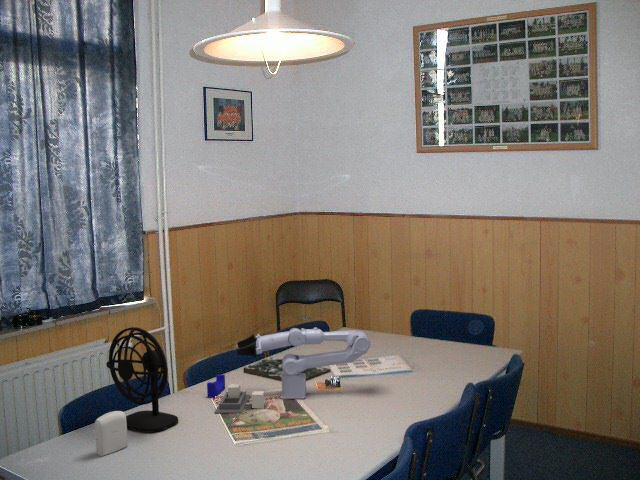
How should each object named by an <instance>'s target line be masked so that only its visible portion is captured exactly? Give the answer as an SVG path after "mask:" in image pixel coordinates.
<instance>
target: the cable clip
mask: <svg viewBox="0 0 640 480" xmlns="http://www.w3.org/2000/svg"><path fill="white" fill-rule="evenodd" d="M215 379H216V380H215V381H213V382H211V381H208V382H207V384H206V389H207V390H206V391H207V398H208V399H216V398H215V396H217V397H219V395H220V394H222V392H224V390H226V377H225V374H217V375H216V377H215Z"/></svg>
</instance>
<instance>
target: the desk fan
mask: <svg viewBox="0 0 640 480" xmlns="http://www.w3.org/2000/svg"><path fill="white" fill-rule="evenodd" d="M128 331H129V332H128ZM126 332H128V334H126V335H124V336H123V334H124V333H126ZM140 336H141V337H142V338H141V337H140ZM131 338H132V339H135V340H137V341H138V342H136V343H135V344H134V345H133V347H131V346H129V343H130V340H131ZM147 339H148V340H149V341H150V342H149V341H148V340H147ZM119 343H120V345H119V348H118V349H117V350H116V351H115V349H116V347H117V345H118V344H119ZM140 344H141V345H143V346H145V350H146V352H144V353H143V354H142V355H141V354H140V352H139V351H138V350H137V349H135V348H136V347H137V346H138V345H140ZM152 348H153V349H152ZM123 349H124V356H123V359H122V351H123ZM128 349H129V350H130V354H129V359H128ZM114 352H115V353H114ZM133 353H135V354H136V355H137V356H138V358H139V359H133ZM116 357H117V359H116ZM134 363H135V364H141V365H142V368H143V371H139V370H138V371H136V370H135V367H134V365H133V364H134ZM105 364H106V367H107V368H108V369H109V373H110V375H111V378H112V381H113V384H114V385H115V386H116V388H117V390H118V391H119V392H120V394H121V395H122V396H123V397H125V398H126V399H127V400H128V401H130V402H131V403H134V404H135V405H149V404H151V408H152V409H151V410H139V411H135V412H132V413H130V414H128V415H126V423H127V429H130V430H134V431H138V432H143V433H155V432H160V431H164V430H166V429H168V428H170V427H172V426H174V425H176V424H177V423H179V417H178V416H177V415H175V414H172V413H166V412H163V411H160V410H159V409H160V408H159V407H160V405H159V398H160V397H161V396H162V395H163V393H164V391H165V389H166V386H167V383H168V376H169V375H168V373H169V370H168V369H169V368H168V363H167V360H166V355H165V352H164V350H163V348H162V346H161V345H160V343H159V342H158V340H157V339H156V338H155V337H154V335H153V334H151V333H150V332H148V331H147V330H145V329H143V328H140V327H134V326H133V327H128V328H125V329H122V330H120V331H119V332H118V333H117V334H116V335H115V336H114V338H113V339H112V341H111V344H110V346H109V351H108V361H107V362H106V363H105ZM116 364H117V367H116V366H115V365H116ZM159 370H160V371H159ZM117 373H118V375H117ZM133 375H134V376H135V378H136V379H137V380H138V381H139V382H141V383H140V385H139V386H138V387H137V388H134V387H133V386H132V385H131V384H130V383H129V381H130V380H131V379H132V378H133ZM139 375H141V376H143V378H141V377H139ZM118 376H119V377H120V378H121V379H122V380H123V383H124V384H125V385H124V384H123V383H122V382H121V381H120V379H119V377H118ZM146 377H147V379H146ZM161 377H162V379H161ZM160 379H161V382H160V384H159V385H158V382H159V381H160ZM144 384H145V385H146V386H145V390H144V392H141V391H139V390H140V389H141V388H142V387H143V386H144ZM149 388H150V391H149ZM132 392H133V393H134V394H136V395H138V396H135V395H132ZM150 396H151V399H150V400H146V398H148V397H150ZM145 400H146V401H145Z"/></svg>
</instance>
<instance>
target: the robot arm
mask: <svg viewBox="0 0 640 480" xmlns="http://www.w3.org/2000/svg"><path fill="white" fill-rule="evenodd" d="M325 341H327V342H345V343H347V344H348V345H347V347H346V348H345V349H344V350H336V351H335V350H334V351H328V352H321V353H320V352H318V353H314V354H306V355H305V354H301V353H299V354H295V353H291V352H290V353H287V354H286V353H285V355H283V357H282V358H281V359H282V364H283V371H282V372H281V374H282V381H281V394H280V397H279V399H280V398H282V399H281V400H283V399H285V400H286V399H289V400H290V399H294V400H296V399H298V400H299V399H301V400H302V399H306V396H307V381H306V374H305V373H300V372H302V371H304V370H306V369H308V368H315V367H328V366H329V367H330V366H335V365H344V364H345V365H346V364H352V363H354V362H355V361H356V360H358V359H359V358H361V357H362V356H363V355H365V354H367V353H368V351H369V349H370V348H371V343H372V342H371V340H370V338H369V337H368V334H367V333H366V332H365V331H363V330H353V329H352V330H339V331H338V330H335V331H323V330H322V329H320V328H318V327H313V328H311V329H309V328H308V329H306V328H304V327H303V328H300V329H299V328H296V327H292V328H291V329H290V330H289V331H283V332H282V331H281V332H276V333H272V334H266V335H262V336H261V335H260V333H257V335H256V336H255V334H254V333H253V334H251V335H249V336H248V337H247V338H244V339H243V340H239V341H237V343H236V345H237V349H236V354H237V356H248V357H253V358H258V357H257V355H261V354H262V353H263V352H266V351H271V350H277V349H281V348H286V347H290V346H294V347H301V346H302V345H321V344H323V342H325Z"/></svg>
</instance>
